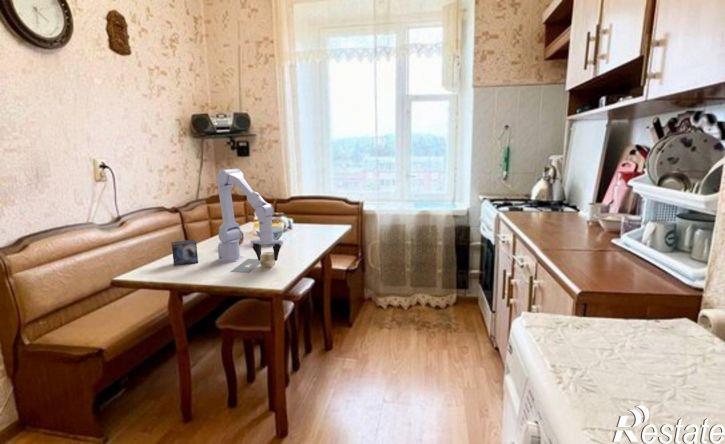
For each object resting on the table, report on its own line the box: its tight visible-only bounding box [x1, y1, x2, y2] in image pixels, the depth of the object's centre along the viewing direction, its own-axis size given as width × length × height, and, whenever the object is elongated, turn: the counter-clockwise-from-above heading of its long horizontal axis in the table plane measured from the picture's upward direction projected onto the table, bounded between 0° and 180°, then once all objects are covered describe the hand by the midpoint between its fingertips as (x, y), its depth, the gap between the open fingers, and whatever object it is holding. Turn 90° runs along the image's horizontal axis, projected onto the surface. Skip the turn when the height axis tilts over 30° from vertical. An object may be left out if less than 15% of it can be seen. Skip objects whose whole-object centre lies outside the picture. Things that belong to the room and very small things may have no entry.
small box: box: [171, 239, 199, 267], centre depth 189 cm, size 11×6×10 cm, turn 117°
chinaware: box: [255, 225, 284, 240], centre depth 226 cm, size 15×15×8 cm
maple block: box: [260, 251, 276, 269], centre depth 182 cm, size 5×5×6 cm
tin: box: [239, 231, 244, 246], centre depth 219 cm, size 15×3×8 cm, turn 168°
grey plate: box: [229, 258, 261, 274], centre depth 184 cm, size 9×20×1 cm, turn 173°
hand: (268, 260), depth 182 cm, fingers open, 7 cm apart
